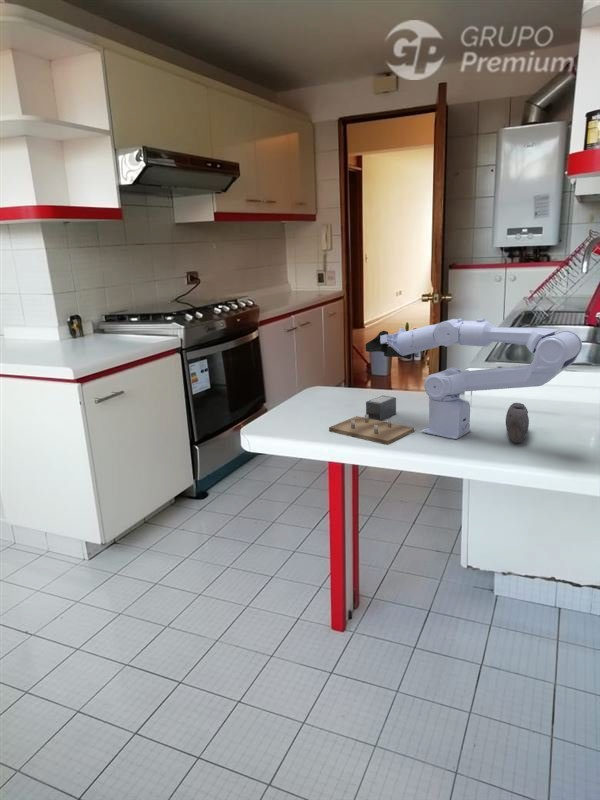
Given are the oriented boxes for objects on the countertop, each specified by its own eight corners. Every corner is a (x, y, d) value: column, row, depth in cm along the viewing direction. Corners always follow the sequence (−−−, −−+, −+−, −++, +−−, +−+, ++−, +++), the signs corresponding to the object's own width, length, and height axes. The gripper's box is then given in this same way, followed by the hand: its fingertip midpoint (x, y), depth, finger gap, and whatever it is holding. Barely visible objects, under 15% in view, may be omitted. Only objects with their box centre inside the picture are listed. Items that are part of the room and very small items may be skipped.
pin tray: (414, 431, 142) (414, 420, 142) (387, 444, 134) (387, 432, 133) (356, 419, 154) (356, 409, 153) (329, 431, 146) (328, 419, 145)
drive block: (396, 414, 157) (396, 397, 156) (379, 422, 151) (379, 403, 150) (382, 412, 160) (382, 395, 159) (366, 419, 154) (365, 401, 153)
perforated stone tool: (527, 449, 127) (529, 419, 126) (503, 447, 129) (504, 418, 128) (528, 428, 141) (529, 402, 139) (505, 427, 143) (507, 400, 141)
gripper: (434, 330, 146) (391, 340, 156) (400, 318, 136) (357, 330, 146) (435, 356, 145) (392, 365, 154) (401, 346, 135) (358, 356, 145)
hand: (375, 350), depth 150 cm, fingers open, 7 cm apart
